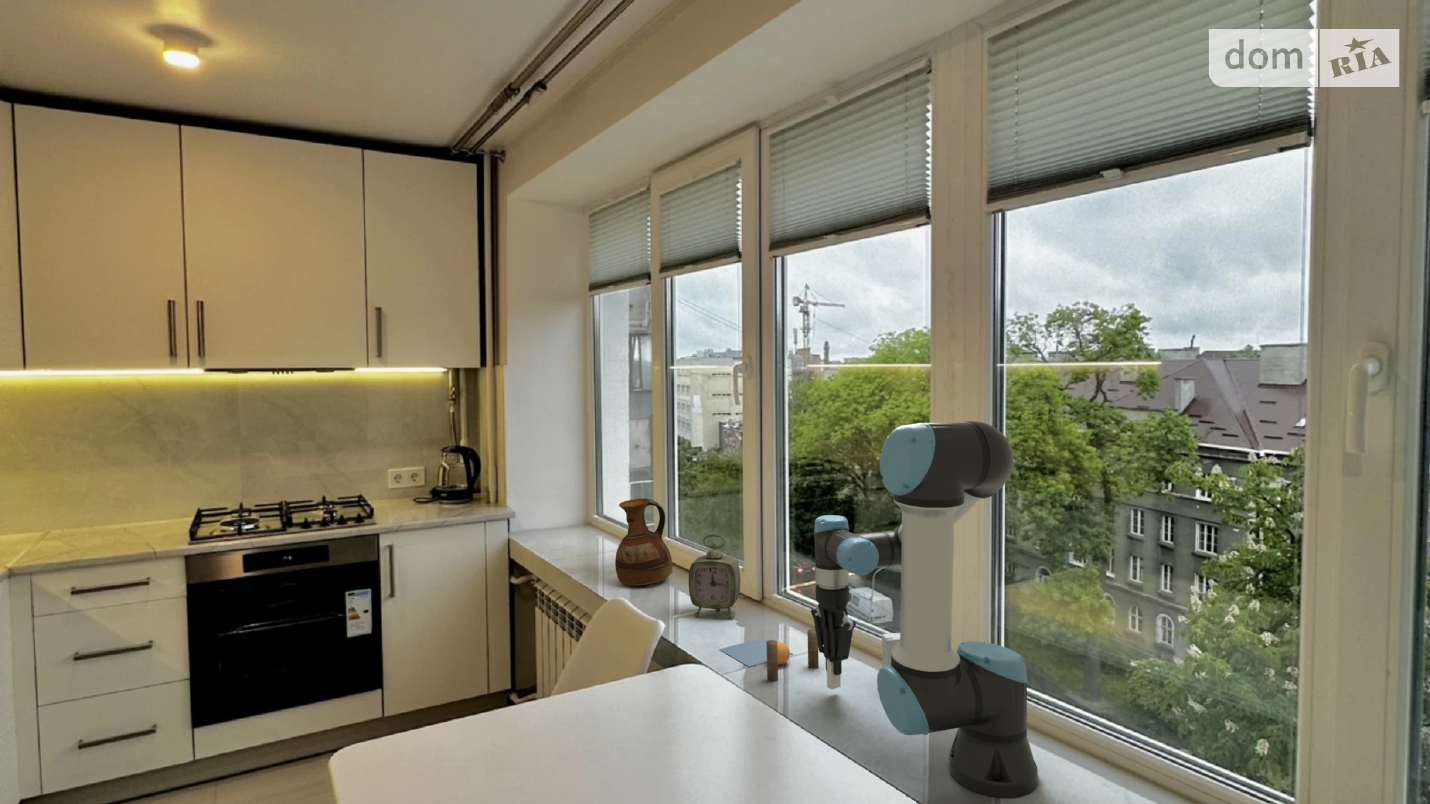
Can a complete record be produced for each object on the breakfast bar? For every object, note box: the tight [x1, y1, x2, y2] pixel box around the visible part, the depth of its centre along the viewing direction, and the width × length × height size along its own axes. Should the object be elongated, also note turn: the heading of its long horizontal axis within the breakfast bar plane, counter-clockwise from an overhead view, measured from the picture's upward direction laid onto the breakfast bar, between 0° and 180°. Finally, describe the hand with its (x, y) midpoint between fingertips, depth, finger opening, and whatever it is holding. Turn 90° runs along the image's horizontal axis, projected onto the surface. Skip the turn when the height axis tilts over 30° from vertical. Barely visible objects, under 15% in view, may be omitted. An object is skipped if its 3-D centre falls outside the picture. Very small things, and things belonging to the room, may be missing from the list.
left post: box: [766, 639, 779, 682], centre depth 176 cm, size 3×3×9 cm
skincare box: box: [881, 632, 900, 667], centre depth 170 cm, size 6×4×12 cm
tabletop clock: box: [688, 533, 742, 620], centre depth 223 cm, size 14×9×25 cm, turn 76°
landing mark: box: [718, 637, 794, 668], centre depth 193 cm, size 14×14×1 cm
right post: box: [807, 628, 820, 670], centre depth 183 cm, size 3×3×9 cm
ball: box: [777, 641, 791, 666], centre depth 185 cm, size 6×6×6 cm
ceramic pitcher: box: [614, 497, 673, 586], centre depth 260 cm, size 20×20×30 cm
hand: (833, 686), depth 167 cm, fingers closed
